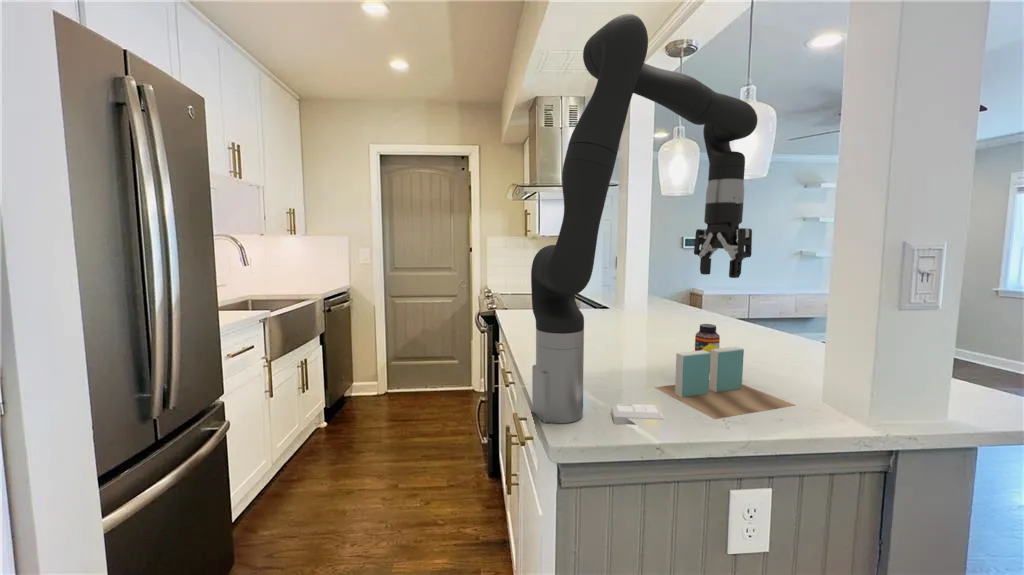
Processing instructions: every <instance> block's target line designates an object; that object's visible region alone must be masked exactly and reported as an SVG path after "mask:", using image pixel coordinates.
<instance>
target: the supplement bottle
mask: <svg viewBox="0 0 1024 575" xmlns="http://www.w3.org/2000/svg"><path fill="white" fill-rule="evenodd" d="M716 325H717V324H716ZM716 325H715V324H711V323H701V324H699V330H698V331H697V332H696V333H695V339H694V340H695V341H694V351H701V350H702V349H703V348H704V347H705V346H707V345H710V344H714V345H715V346H717V347H718V348H720V339H721V336H720V334H719V333H718V332H717V326H716Z"/></svg>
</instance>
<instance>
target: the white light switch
mask: <svg viewBox="0 0 1024 575" xmlns="http://www.w3.org/2000/svg"><path fill="white" fill-rule="evenodd" d="M610 410H611V413H610V414H611V416H612V421H613V424H614V425H631V426H632V425H634V426H635V425H637V423H635V422H633V421H632V420H631V419H635V420H636V419H638V420H660V421H661V420H663V421H664V420H665V418H664V416H663V414H662V412H661V410H660V409H659V407H658V406H656V405H655V404H637V403H636V404H633V403H615V404H613V405H612V406H611V409H610Z"/></svg>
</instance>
